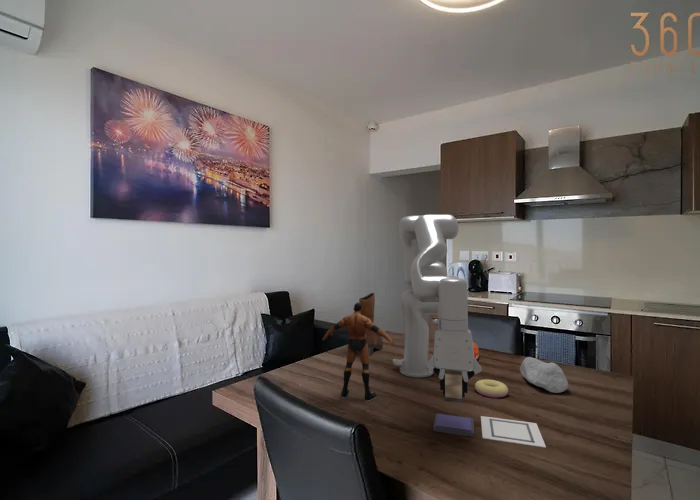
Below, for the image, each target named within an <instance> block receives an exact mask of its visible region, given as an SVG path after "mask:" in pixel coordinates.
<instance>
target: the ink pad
mask: <svg viewBox="0 0 700 500" xmlns="http://www.w3.org/2000/svg"><path fill="white" fill-rule="evenodd" d="M432 425H433V427H432V430H433V432H436V433H437V432H439V433H444V434H451V435H458V436H465V437H471V438H474V437H475V423H474V418H473V417H466V416H457V415H449V414H444V413H435V416H434V421H433V424H432Z"/></svg>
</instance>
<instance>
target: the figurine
mask: <svg viewBox="0 0 700 500" xmlns="http://www.w3.org/2000/svg"><path fill="white" fill-rule="evenodd" d="M353 311H354V312H353V313H351V314H348V315H345V316H344V317H343V318H341V320H339V321H338V322H336V323H335V324H332V325H331V327H330V328H329V329H328V330H327V331H326V333H325V334H324V336H323V337H322V341H325V340H327V339H328V337H329V336H331V337H333V333H337V331H338V330H339V329H342V328H344V327H345V329H346V331H347V332H348V336H349V337H348V338H349V340H348V345H347V352H346V353H347V354H346V365H345V368H344V371H343V387H342V389H341V393H340V394H341V398H342V399H347V397H348V396H349V394H350V392H351V391H350V390H349V389H348V388H349V382H350V379H351V375H352V371H353V370H352V368H353V367H352V366H353V364H354V362H355V359H356V357H357V356H356V354H357V353H358V352H359V356H358V358H359V359H360V363H361V366H362V369H361V378H362V381H363V387H364V401H365V402H371V401H372V400H374V399H376V398H377V397H378V396H377V394H376V392H372V390H371V389H370V371H369V368H370V367H369V366H370V365H369V364H370V356H369V352H368V345H367V341H366V329H367V327H368V328H369V329H370V330H372V331H374V332H375V333H376V334H377V335H379V336H381V338H382V337H383V339H385V340H386V341H387V342H389V343H390V344H391V346H392V347H395V346H396V345H395V344H396V343H395V342H394V341H393V338H392V337H390V335H388V334H387V333H386V332H385V330H383V329H381V328H380V327H378V326H377V325H375V324H374V322H373V323H372V322H371V320H370V319H369V318H367V317H365V316H363V315H361V313H362V304H361V303H359V302H356V303H354V305H353Z"/></svg>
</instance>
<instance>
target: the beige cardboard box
mask: <svg viewBox="0 0 700 500" xmlns="http://www.w3.org/2000/svg"><path fill="white" fill-rule="evenodd" d="M444 374H445V395H444V402H450V403H458V404H464V397H462V378H463V375H462V371H456V370H446V369H445V373H444Z"/></svg>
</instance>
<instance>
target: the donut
mask: <svg viewBox="0 0 700 500" xmlns="http://www.w3.org/2000/svg"><path fill="white" fill-rule="evenodd" d="M474 389H475V391H476V392H477V393H478V394H479V395H482V396H485V397H488V398H495V399H498V398H504V397H506V396H507V395H508V394H509V388H508V386H507V385H506V384H505V383H503V382H501V381H498V380H494V379H479V380H477V381H476V382H475V384H474Z"/></svg>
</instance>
